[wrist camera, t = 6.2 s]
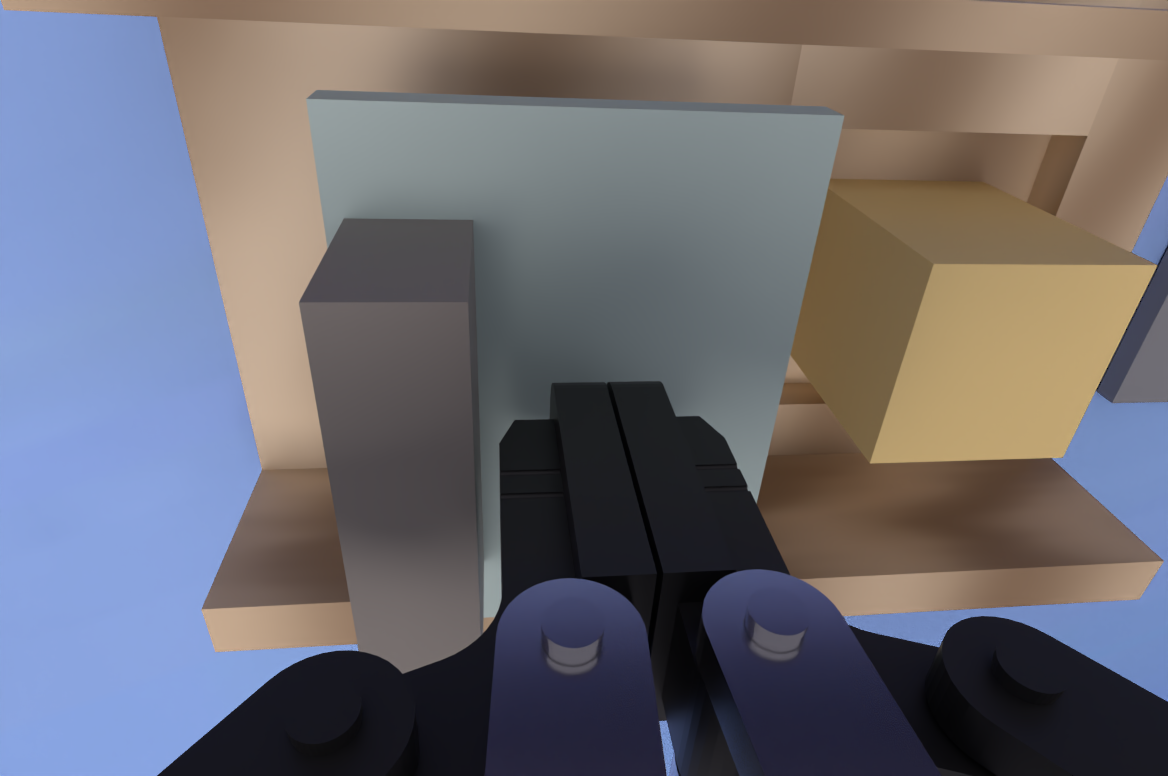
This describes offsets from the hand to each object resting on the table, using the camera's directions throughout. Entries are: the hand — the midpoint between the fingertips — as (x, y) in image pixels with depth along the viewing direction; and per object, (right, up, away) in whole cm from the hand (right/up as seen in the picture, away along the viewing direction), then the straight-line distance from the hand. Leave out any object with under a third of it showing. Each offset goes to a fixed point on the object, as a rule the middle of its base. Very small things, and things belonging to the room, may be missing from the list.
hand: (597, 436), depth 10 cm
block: (+7, +4, +7) cm, 10 cm away
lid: (0, +1, +1) cm, 2 cm away
